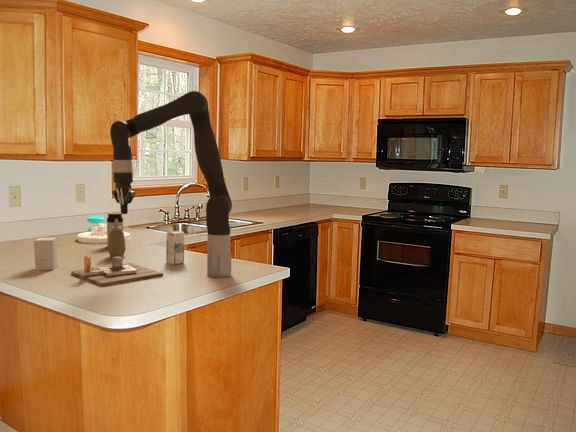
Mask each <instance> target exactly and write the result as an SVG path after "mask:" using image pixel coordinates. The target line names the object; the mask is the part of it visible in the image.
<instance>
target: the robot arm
mask: <svg viewBox="0 0 576 432" xmlns="http://www.w3.org/2000/svg"><path fill="white" fill-rule="evenodd" d="M185 115H189V119H190V121H191V124H192V129H193V141H194V142H193V143H194V150H195V156H196V160H197V165H198V167H199V169H200V171H201V173H202V176H203V177H204V179H205V181H206V184H207V189H208V192H209V198H208V200H207V201H206V207H205V223H206V225H205V226H206V229H207V240H206V242H207V246H206V248H207V249H206V251H207V259H206V260H207V261H206V263H207V264H206V267H207V268H206V270H207V271H206V273H207V274H206V275H207V277H211V278H219V279H221V278H227V277H231V276H232V256H233V255H232V252H231V227H230V220H229V219H230V218H229V217H230V213H231V211H232V208H233V202H232V199H231V196H230V194H229V190H228V188H227V184H226V181H225V177H224V171H223V165H222V159H221V156H220V155H221V153H220V152H219V151H220V150H219V146H218V143H217V140H216V137H215V134H214V130H213V128H212V122H211V118H210V117H211V116H210V109H209V102H208V99H207V97H206V96H205V95H204V94H203V93H201V92H200V91H197V90H191V91H188V92H186V93H184V94H183V95H181V96H179V97H177V98H176V99H173V100H172V101H170V102H168V103H166V104H163V105H160V106H157V107H155V108H152V109H149V110H147V111H143V112H141V113H138V114H136V115H135V116H133V117H132V118H130V119H127V120H124V121H122V120H116V121H114V122H112V124H111V126H110V129H109V130H110V131H109V133H110V134H109V135H110V139H111V144H112V148H113V149H112V151H113V152H112V153H113V154H112V155H113V157H112V158H113V160H112V175H113V176H112V177H113V178H112V179H113V180H112V181H113V184H115V189H114V190H111V193H112V195H113V198H114V199H115V202H116V204H119V205H120V212H121V214H122V215H127V214H129V213H128V212H129V211H128V209H129V207H128V205H129V204H132V202H133V199H134V198H135V195H136V191H133V190H132V185H131V184H133V182H134V178H133V177H134V176H133V175H134V173H133V171H134V170H133V167H134V166H133V162H132V161H133V160H132V159H133V158H132V157H133V156H132V148H131V146H130V144H129V138H133V137H134V136H137V135H139V134H141V133H143V132H147V131H149V130H151V129H155V128H158V127H160V126H161V125H163V124H166V123H168V121H170V120H172V119H173V120H174V119H175V118H178V117H181V116H185Z"/></svg>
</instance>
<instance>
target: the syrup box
mask: <svg viewBox="0 0 576 432" xmlns="http://www.w3.org/2000/svg"><path fill="white" fill-rule="evenodd" d="M165 254H166V256H165V257H166V258H165V260H166V261H165V262H166V264H169V265H175V264H176V265H181V263H182V264H185V232H184V231H182V230H172V231H166V253H165Z"/></svg>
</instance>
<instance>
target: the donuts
mask: <svg viewBox="0 0 576 432" xmlns="http://www.w3.org/2000/svg"><path fill="white" fill-rule="evenodd" d="M86 220H87V222H88V223H89V224H95V225H96V224H97V225H98V223H100V224H101V223H104V222H105V217H104V216H96V215H95V216H94V215H93V216H88V217H87V219H86ZM92 227H93V226H92ZM92 227H89V228H88V229H87V230H86V232H92V231H91V229H93V228H94V227H95V226H94V227H93V228H92Z"/></svg>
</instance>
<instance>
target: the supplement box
mask: <svg viewBox="0 0 576 432" xmlns="http://www.w3.org/2000/svg"><path fill="white" fill-rule="evenodd" d="M33 247H34V268H35V270H34V271H48V270H49V271H52V270H53V271H54V270H55V269H56V268H57V267H58V266H59V264H58V237H38V238H36V239H35V240H33Z"/></svg>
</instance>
